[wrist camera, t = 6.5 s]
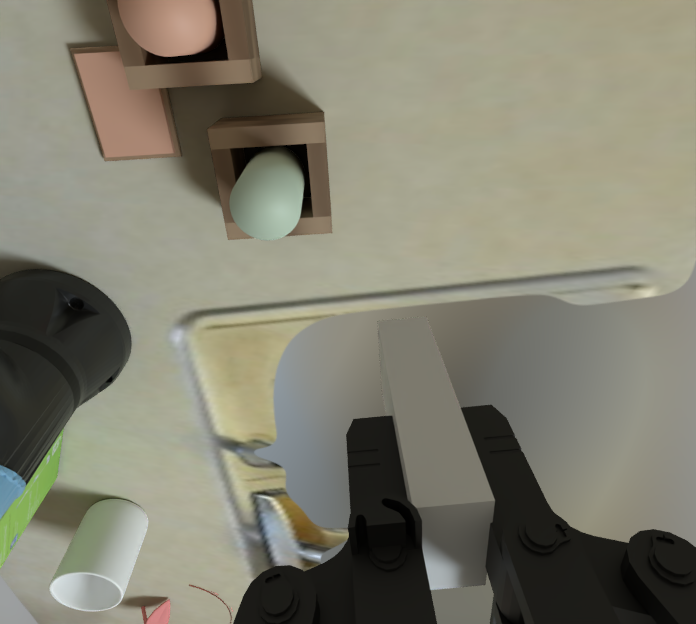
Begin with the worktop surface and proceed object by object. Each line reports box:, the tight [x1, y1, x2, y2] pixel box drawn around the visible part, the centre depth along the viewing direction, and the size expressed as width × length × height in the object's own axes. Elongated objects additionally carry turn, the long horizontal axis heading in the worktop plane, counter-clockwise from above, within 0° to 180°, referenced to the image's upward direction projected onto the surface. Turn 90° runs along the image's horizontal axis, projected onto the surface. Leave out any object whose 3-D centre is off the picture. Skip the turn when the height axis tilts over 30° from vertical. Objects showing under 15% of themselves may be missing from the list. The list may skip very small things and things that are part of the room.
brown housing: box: [106, 0, 262, 90], centre depth 34 cm, size 9×9×6 cm
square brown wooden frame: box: [207, 112, 332, 240], centre depth 40 cm, size 9×9×6 cm
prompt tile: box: [70, 46, 182, 161], centre depth 39 cm, size 7×9×1 cm
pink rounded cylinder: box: [117, 0, 225, 57], centre depth 32 cm, size 5×5×9 cm
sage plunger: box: [229, 145, 305, 240], centre depth 37 cm, size 5×5×9 cm
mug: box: [49, 499, 148, 611], centre depth 63 cm, size 9×12×11 cm
